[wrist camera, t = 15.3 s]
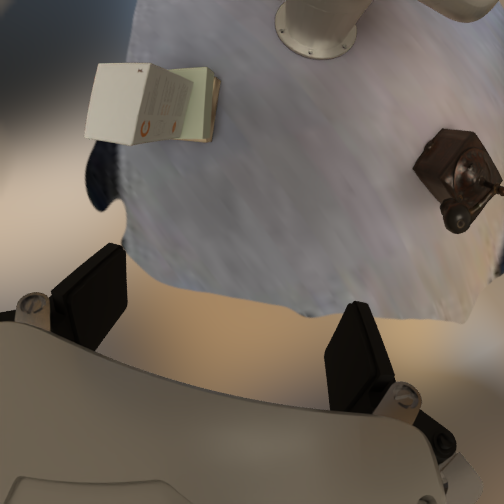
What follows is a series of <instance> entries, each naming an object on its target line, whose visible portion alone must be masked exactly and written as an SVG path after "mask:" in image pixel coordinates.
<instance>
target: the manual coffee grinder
mask: <svg viewBox="0 0 504 504" xmlns="http://www.w3.org/2000/svg"><path fill="white" fill-rule="evenodd" d="M413 170H414V171H415V173H416V174H417V176H418V177H419V178H420V180H421V181H422V182H423V183H424V185H425V186H426V187H427V188H428V190H429V191H430V192H431V193H432V195H433V196H434V197H435V198H436V199H437V200H438V201H439V202H440V203H441V206H440V210H441V214H442V215H443V220H444V224H445V227H446V229H448V230H449V231H450V232H452V233H455V234H460V233H463V232H465V231H466V230H468V229H469V227H470V225H471V224H472V222H473V221H474V220H475V219H476V217H477V216H478V215H479V213H480V212H481V211H482V209H483V208H484V207H485V205H486V204H487V203H488V201H489V200H490V199H491V198H492V197H493V196H494V195H495V194H500V195H501V196H504V187H503V186H500V184H501V182H502V181H503V180H502V178H501V176H500V174H499V172H498V170H497V168H496V166H495V165H494V163H493V161H492V159H491V157H490V156H489V154H488V152H487V151H486V149H485V147H484V146H483V144H482V143H481V141H480V140H479V138H478V137H477V135H476V134H475V133H474V132H471V131H462V130H450V129H444V128H442V130H441V131H440V132H439V133H438V134H437V135H436V136H435V138H434V139H433V140H432V141H430V142H429V143H428V144H427V146H426V147H425V150H424V152H423V153H422V154H421V156H420V157H419V159H418V160H417V162H416V164H415V166H414V168H413Z"/></svg>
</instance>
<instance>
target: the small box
mask: <svg viewBox="0 0 504 504" xmlns="http://www.w3.org/2000/svg"><path fill="white" fill-rule="evenodd" d="M192 87H193V82H192V81H190V80H188V79H186V78H184V77H182V76H180V75H177V74H175V73H173V72H170V71H168V70H166V69H163V68H161V67H159V66H156V65H154V64H152V63H106V64H105V63H104V64H98V68H97V72H96V76H95V80H94V84H93V88H92V93H91V98H90V103H89V109H88V114H87V120H86V126H85V133H84V138H88V139H94V140H100V141H106V142H112V143H118V144H123V145H128V146H133V145H137V144H142V143H148V142H154V141H161V140H169V139H176V138H180V136H181V132H182V127H183V123H184V119H185V115H186V110H187V106H188V103H189V99H190V95H191V91H192Z"/></svg>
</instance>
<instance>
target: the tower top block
mask: <svg viewBox="0 0 504 504" xmlns="http://www.w3.org/2000/svg"><path fill="white" fill-rule="evenodd" d="M168 71H170V72H173V73H175V74H177V75H180V76H182V77H184V78H186V79H188V80H190V81H192V82H193V87H192V91H191V95H190V99H189V103H188V106H187V110H186V115H185V119H184V123H183V127H182V132H181V136H180V138H176V139H207V138H210V128H211V111H212V95H213V81H214V72H213V71H211V70H210V69H209V68H208V67H199V68H183V69H172V70H168Z"/></svg>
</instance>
